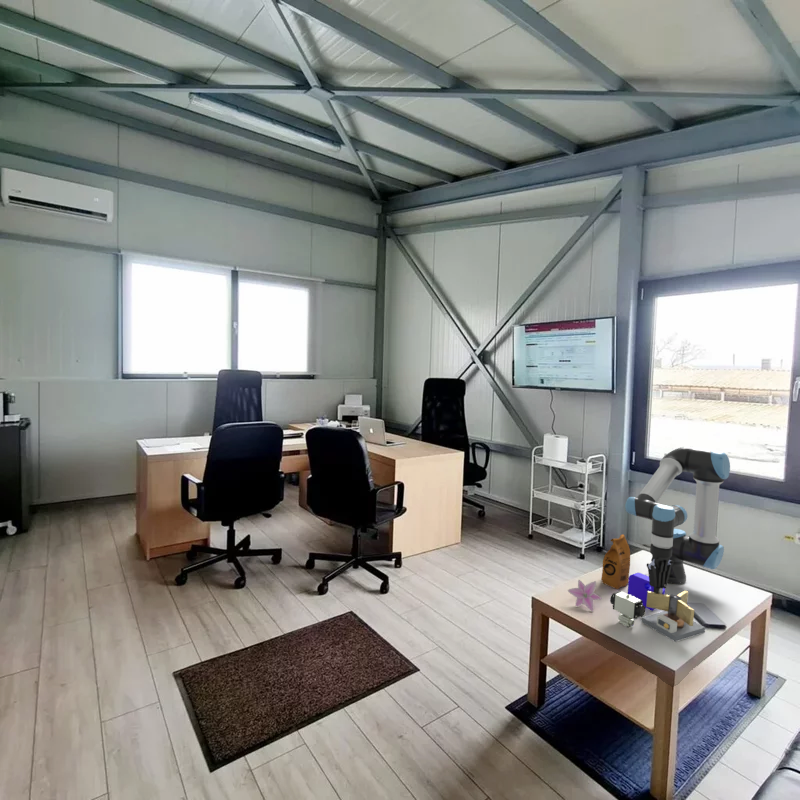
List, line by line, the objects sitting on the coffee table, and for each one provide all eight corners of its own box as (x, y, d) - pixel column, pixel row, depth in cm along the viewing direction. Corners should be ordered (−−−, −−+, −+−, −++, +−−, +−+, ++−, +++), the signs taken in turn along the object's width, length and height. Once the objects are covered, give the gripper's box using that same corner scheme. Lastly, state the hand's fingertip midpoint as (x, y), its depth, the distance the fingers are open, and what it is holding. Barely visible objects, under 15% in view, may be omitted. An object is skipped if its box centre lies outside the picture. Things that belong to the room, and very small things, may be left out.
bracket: (651, 611, 195) (654, 583, 194) (626, 599, 204) (629, 573, 203) (674, 600, 205) (677, 574, 204) (649, 590, 214) (652, 564, 213)
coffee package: (597, 582, 219) (600, 536, 218) (611, 575, 227) (615, 531, 225) (617, 590, 211) (621, 543, 210) (632, 584, 219) (635, 537, 217)
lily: (563, 601, 202) (565, 587, 197) (580, 585, 207) (583, 572, 202) (587, 621, 193) (590, 607, 188) (605, 605, 199) (608, 591, 193)
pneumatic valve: (637, 633, 178) (640, 602, 177) (608, 618, 187) (610, 589, 186) (645, 628, 181) (647, 598, 180) (615, 614, 190) (618, 586, 189)
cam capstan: (644, 605, 195) (646, 582, 194) (685, 614, 188) (688, 590, 188) (646, 625, 179) (649, 600, 178) (692, 636, 173) (694, 610, 172)
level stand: (670, 614, 193) (671, 601, 192) (704, 632, 180) (706, 618, 180) (640, 622, 186) (641, 608, 185) (673, 642, 173) (674, 627, 172)
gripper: (663, 539, 192) (659, 595, 193) (641, 543, 186) (637, 601, 188) (681, 546, 185) (676, 604, 187) (659, 551, 179) (654, 610, 181)
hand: (657, 603), depth 187 cm, fingers closed
